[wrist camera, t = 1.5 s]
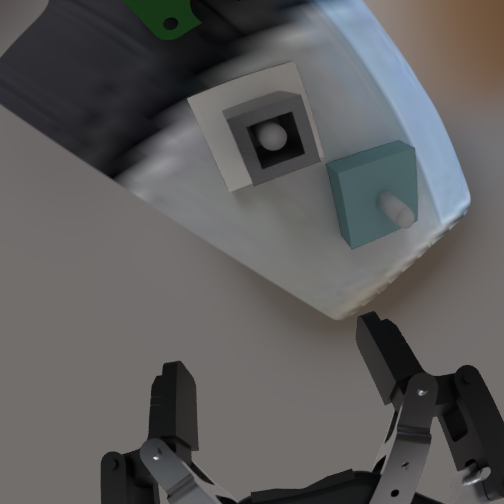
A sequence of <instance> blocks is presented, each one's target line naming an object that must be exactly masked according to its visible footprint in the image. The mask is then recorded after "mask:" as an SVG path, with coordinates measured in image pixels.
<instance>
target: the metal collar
mask: <svg viewBox="0 0 504 504" xmlns="http://www.w3.org/2000/svg"><path fill="white" fill-rule="evenodd" d="M222 113H223V115H224V117H225V120H226V122H227V124H228V127H229V129H230V132H231V134H232V136H233V139H234V141H235V144H236V146H237V148H238V151H239V153H240V156H241V158H242V161H243V163H244V165H245V167H246V170H247V172H248V174H249V176H250V178H251V181H252V183H253V185H254V186H256V185H259V184H261V183H264V182H267V181H269V180H272V179H274V178H277V177H280V176H282V175H285V174H288V173H290V172H293V171H296V170H299V169H301V168H304V167H307V166H310V165H313V164H315V163H318V162H321V161H320V157H319V153H318V149H317V146H316V142H315V139H314V135H313V132H312V128H311V125H310V122H309V118H308V115H307V112H306V109H305V106H304V102H303V99H302V96H301V94H296V93H291V92H285V91H276V92H273V93H270V94H267V95H264V96H261V97H258V98H255V99H252V100H249V101H247V102H244V103H241V104H238V105H236V106H233V107H230V108H228V109H225V110H223V111H222ZM276 116H277V118H278V121H279V124H280V126H281V127H282V128H283V129H284V130H285V132H286V135H287V140H286V143H285V145H284V146H283V147H282V148H280V149H278V150H268V149H266V148H265V147H264V146H263V145H260V146H258V147H255V148H254V147H253V144H252V142H251V139H250V137H249V134H248V131H247V129H246V127H248V126H251V125H254V124H256V123H259V122H262V121H265V120H268V119H270V118H273V117H276Z"/></svg>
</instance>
